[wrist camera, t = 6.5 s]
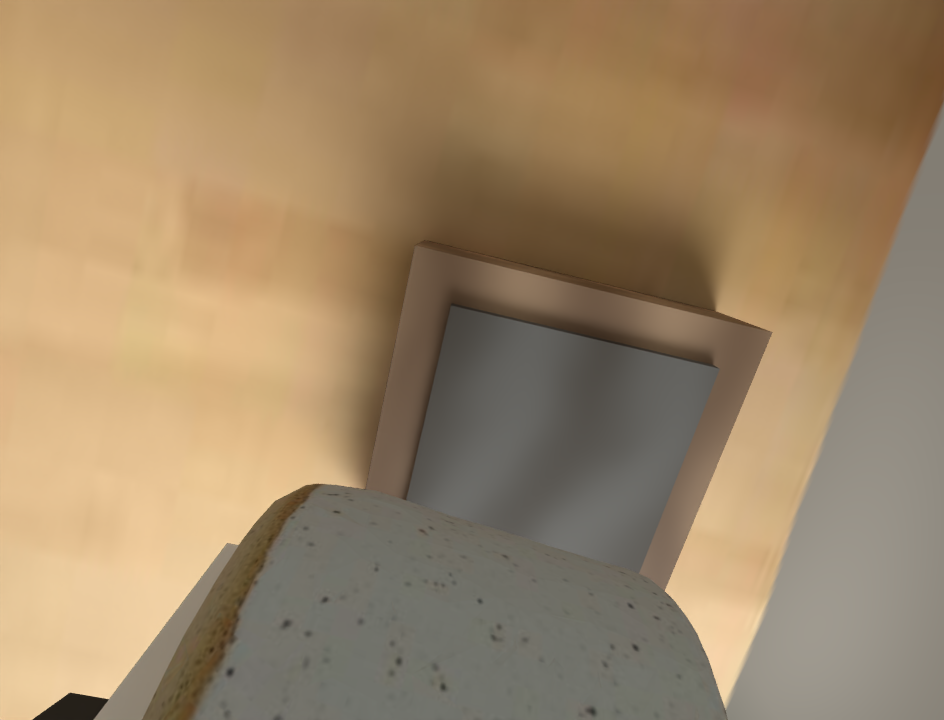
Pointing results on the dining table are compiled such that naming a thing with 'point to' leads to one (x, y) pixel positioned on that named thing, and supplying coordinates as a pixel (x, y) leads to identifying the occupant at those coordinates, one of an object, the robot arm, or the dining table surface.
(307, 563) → the ceramic mug
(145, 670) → the robot arm
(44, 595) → the dining table surface
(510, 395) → the walnut base
